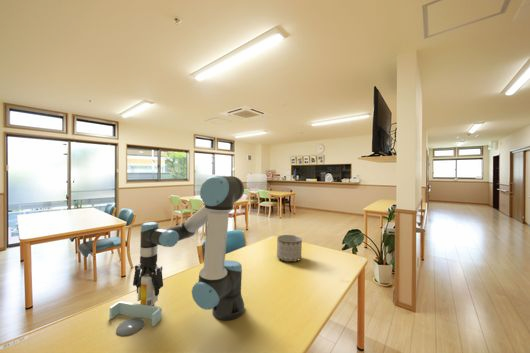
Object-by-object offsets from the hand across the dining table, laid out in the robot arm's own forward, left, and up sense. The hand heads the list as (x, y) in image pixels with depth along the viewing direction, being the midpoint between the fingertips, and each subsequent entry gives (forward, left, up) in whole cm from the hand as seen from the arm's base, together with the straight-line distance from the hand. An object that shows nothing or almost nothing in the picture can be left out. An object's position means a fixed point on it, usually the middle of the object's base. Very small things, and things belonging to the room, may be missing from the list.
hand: (147, 300), depth 107 cm
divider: (-2, +10, -2) cm, 10 cm away
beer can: (0, 0, -2) cm, 2 cm away
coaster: (-4, +15, -2) cm, 16 cm away
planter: (-64, -78, -2) cm, 101 cm away
